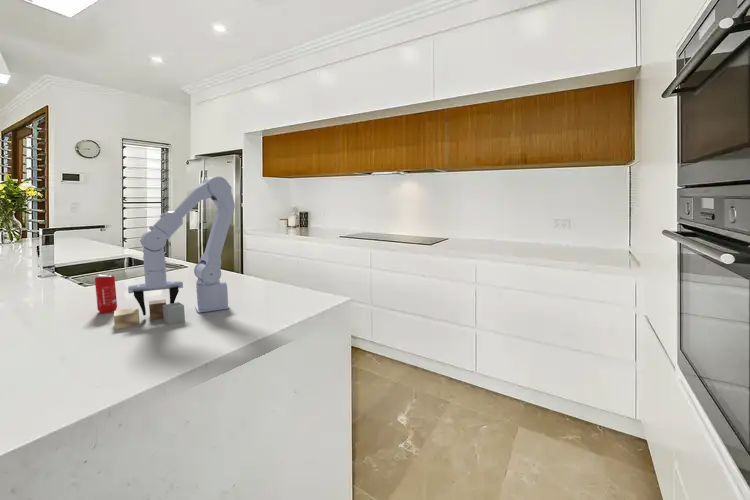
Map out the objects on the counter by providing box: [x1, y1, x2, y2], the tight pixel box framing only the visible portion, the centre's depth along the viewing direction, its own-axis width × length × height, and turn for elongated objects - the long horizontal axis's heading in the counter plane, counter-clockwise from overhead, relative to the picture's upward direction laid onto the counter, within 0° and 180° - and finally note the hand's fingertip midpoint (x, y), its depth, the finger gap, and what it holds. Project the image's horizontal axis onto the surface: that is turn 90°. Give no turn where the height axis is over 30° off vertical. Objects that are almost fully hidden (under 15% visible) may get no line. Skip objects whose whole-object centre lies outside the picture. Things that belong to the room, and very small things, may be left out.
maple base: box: [113, 307, 141, 330], centre depth 110 cm, size 6×6×4 cm
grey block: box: [163, 302, 186, 325], centre depth 113 cm, size 4×4×5 cm
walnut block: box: [148, 298, 167, 321], centre depth 117 cm, size 4×4×5 cm
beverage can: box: [94, 273, 118, 314], centre depth 122 cm, size 5×5×12 cm
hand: (158, 312), depth 117 cm, fingers open, 7 cm apart
